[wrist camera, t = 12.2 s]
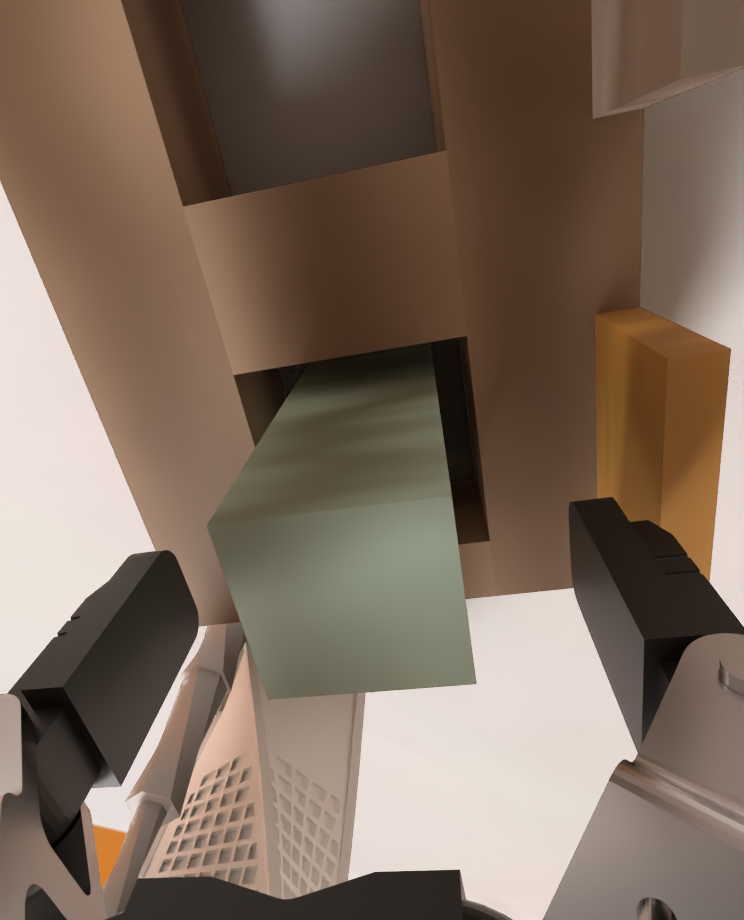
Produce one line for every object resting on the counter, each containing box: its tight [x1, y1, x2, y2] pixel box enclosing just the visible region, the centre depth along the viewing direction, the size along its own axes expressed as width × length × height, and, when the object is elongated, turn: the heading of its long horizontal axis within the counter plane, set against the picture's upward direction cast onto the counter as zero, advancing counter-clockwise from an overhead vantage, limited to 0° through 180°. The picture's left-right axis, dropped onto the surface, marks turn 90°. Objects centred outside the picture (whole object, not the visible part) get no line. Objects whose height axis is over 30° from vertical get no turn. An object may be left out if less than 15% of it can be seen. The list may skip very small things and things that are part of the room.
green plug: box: [207, 343, 476, 700], centre depth 14 cm, size 4×4×10 cm
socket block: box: [0, 0, 744, 626], centre depth 13 cm, size 14×20×8 cm
